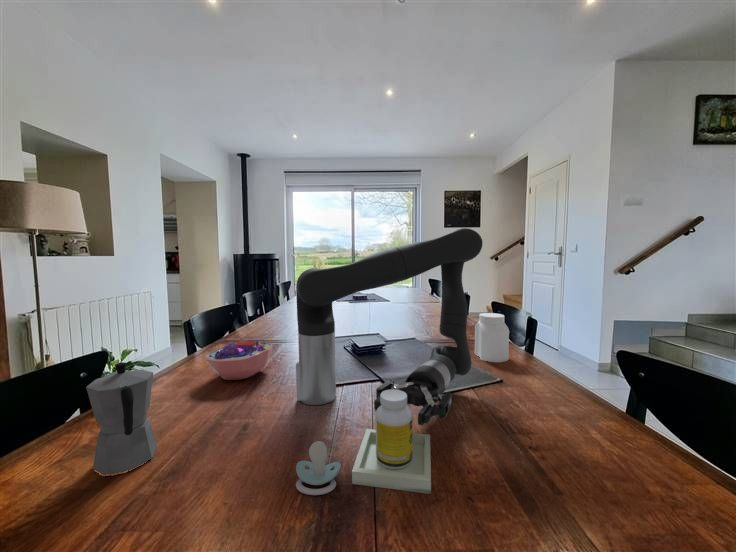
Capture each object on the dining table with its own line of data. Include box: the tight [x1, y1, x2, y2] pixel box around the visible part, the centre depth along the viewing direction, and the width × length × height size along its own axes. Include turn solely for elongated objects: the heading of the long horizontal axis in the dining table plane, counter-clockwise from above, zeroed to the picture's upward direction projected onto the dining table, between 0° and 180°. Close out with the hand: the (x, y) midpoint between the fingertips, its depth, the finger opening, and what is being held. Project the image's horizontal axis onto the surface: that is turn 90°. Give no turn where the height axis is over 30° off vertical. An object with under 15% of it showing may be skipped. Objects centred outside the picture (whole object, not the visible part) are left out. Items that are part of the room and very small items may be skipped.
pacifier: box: [295, 440, 342, 496], centre depth 50 cm, size 7×6×6 cm
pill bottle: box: [374, 389, 413, 469], centre depth 55 cm, size 6×6×12 cm
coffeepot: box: [85, 362, 158, 475], centre depth 55 cm, size 15×9×18 cm, turn 43°
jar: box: [474, 312, 510, 363], centre depth 110 cm, size 12×10×15 cm
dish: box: [351, 428, 432, 495], centre depth 55 cm, size 12×12×2 cm
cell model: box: [204, 340, 273, 381], centre depth 95 cm, size 17×20×11 cm
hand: (397, 413), depth 56 cm, fingers open, 8 cm apart
